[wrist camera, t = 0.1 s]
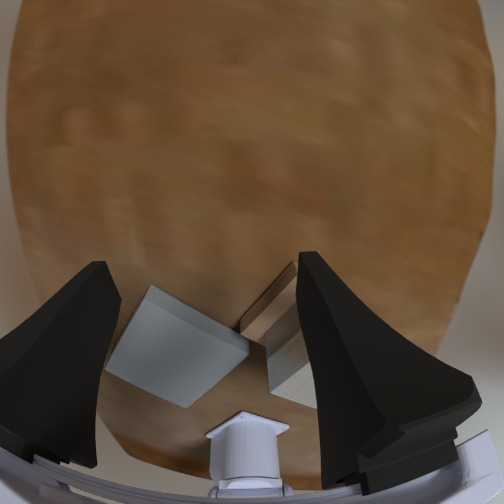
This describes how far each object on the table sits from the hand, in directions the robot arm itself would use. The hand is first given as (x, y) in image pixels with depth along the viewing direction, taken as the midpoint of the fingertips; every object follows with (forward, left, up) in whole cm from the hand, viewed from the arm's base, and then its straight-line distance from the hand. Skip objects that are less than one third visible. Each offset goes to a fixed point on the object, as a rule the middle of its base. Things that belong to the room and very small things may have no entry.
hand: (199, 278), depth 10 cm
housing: (-4, -13, -8) cm, 16 cm away
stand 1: (-15, -4, -10) cm, 19 cm away
